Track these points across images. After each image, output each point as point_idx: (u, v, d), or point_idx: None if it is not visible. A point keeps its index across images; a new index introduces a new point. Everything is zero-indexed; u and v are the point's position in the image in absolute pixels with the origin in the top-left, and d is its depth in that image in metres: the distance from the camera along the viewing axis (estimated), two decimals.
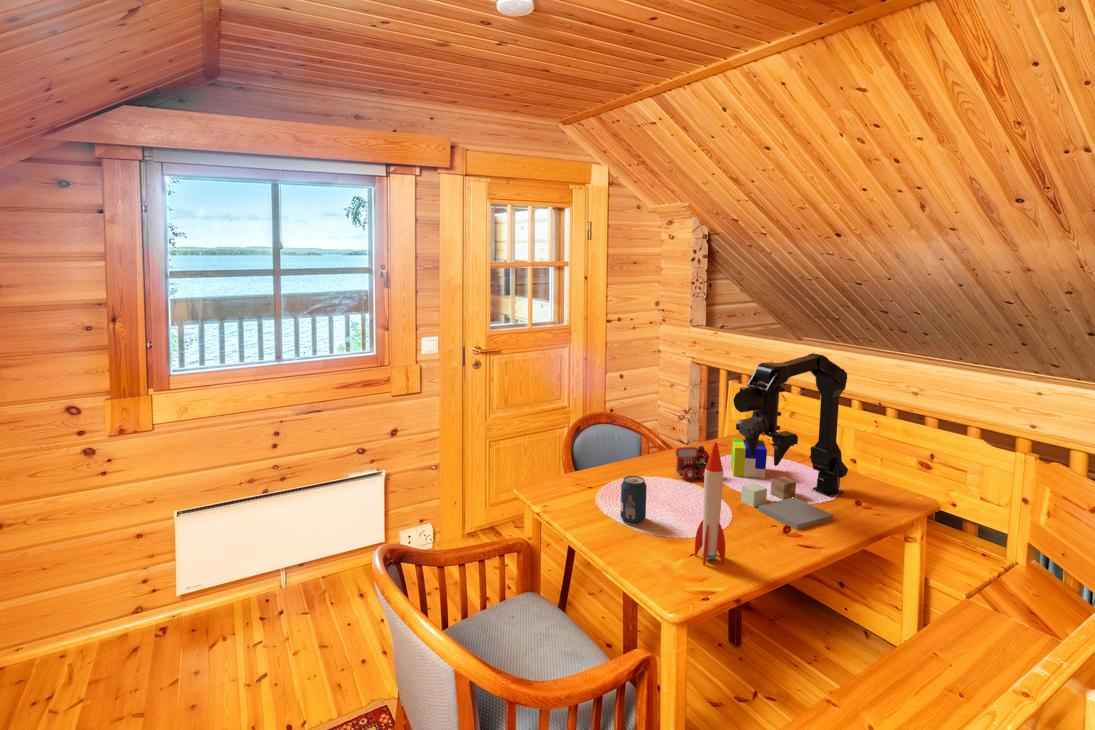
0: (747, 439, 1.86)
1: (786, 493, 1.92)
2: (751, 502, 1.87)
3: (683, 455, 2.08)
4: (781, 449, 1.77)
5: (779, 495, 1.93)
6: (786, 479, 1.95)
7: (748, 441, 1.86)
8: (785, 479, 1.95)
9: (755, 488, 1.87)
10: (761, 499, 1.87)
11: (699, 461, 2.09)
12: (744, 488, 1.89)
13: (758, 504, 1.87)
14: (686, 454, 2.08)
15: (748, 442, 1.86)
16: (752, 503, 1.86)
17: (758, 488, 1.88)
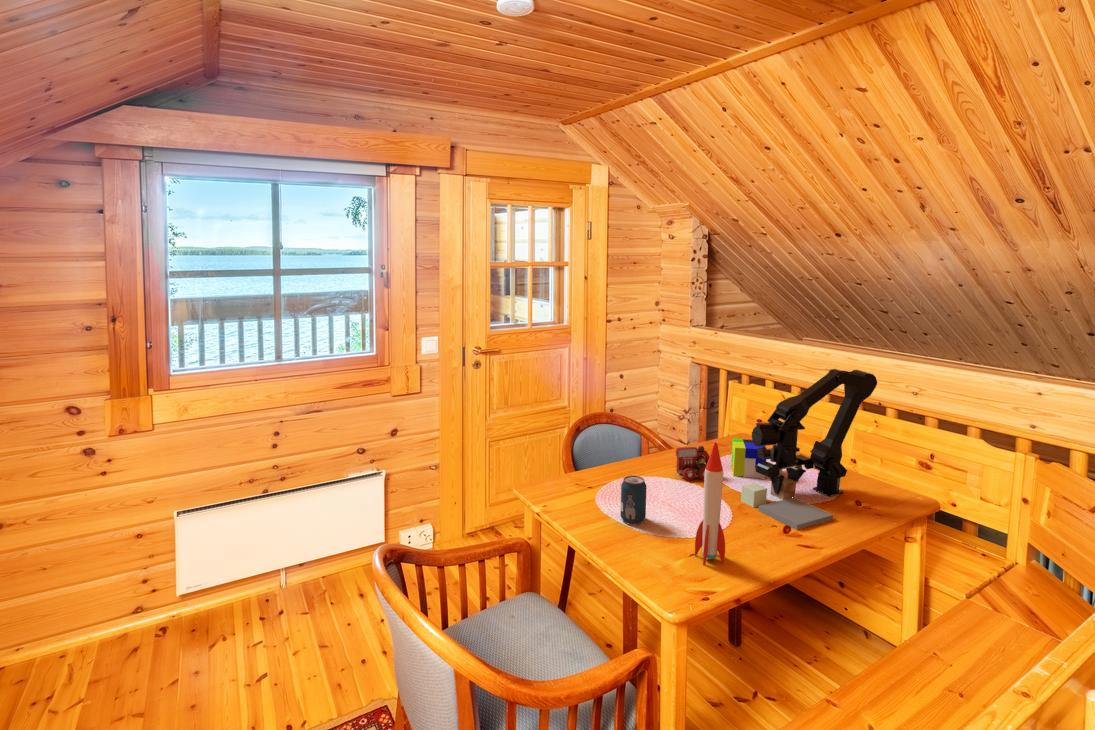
0: None
1: (787, 492, 1.92)
2: (751, 502, 1.87)
3: (683, 455, 2.08)
4: (776, 479, 1.92)
5: (779, 495, 1.93)
6: (786, 479, 1.95)
7: None
8: (785, 478, 1.95)
9: (755, 488, 1.87)
10: (761, 499, 1.87)
11: (699, 461, 2.09)
12: (744, 488, 1.89)
13: (758, 504, 1.87)
14: (686, 454, 2.08)
15: None
16: (752, 503, 1.86)
17: (758, 488, 1.88)
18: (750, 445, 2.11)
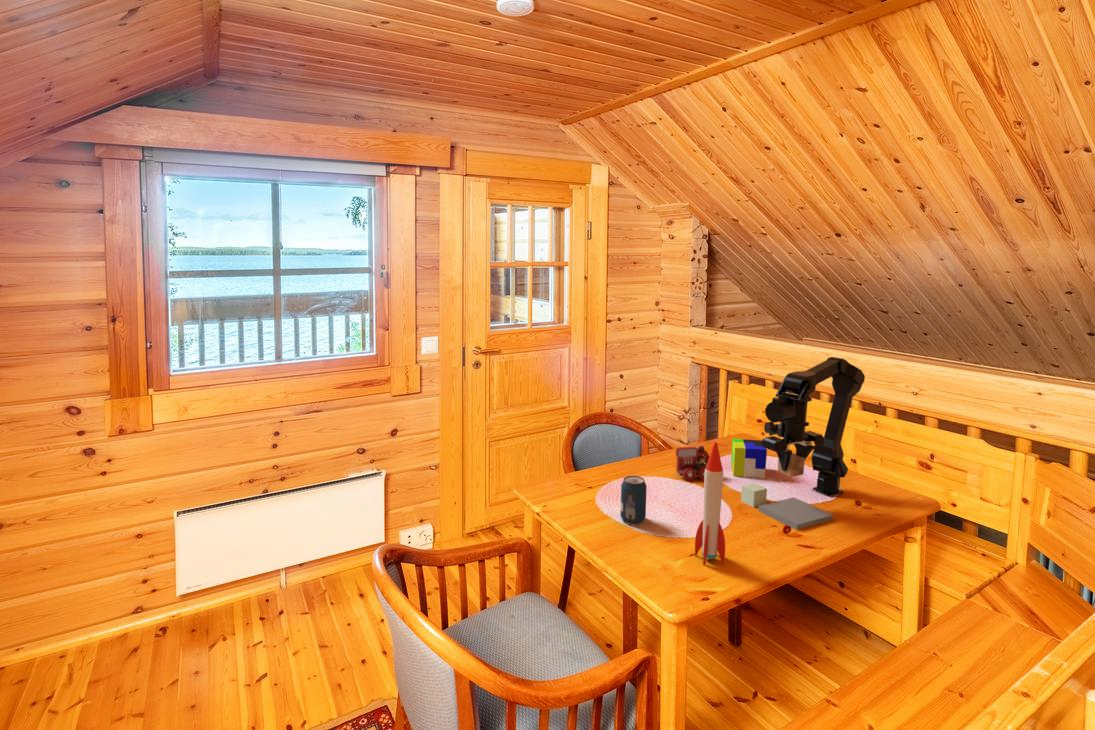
0: None
1: (794, 469, 1.82)
2: (751, 502, 1.87)
3: (683, 455, 2.08)
4: (783, 455, 1.82)
5: (786, 472, 1.83)
6: (794, 455, 1.85)
7: None
8: (793, 455, 1.85)
9: (755, 488, 1.88)
10: (761, 499, 1.87)
11: (699, 461, 2.09)
12: (744, 488, 1.89)
13: (758, 504, 1.87)
14: (686, 454, 2.08)
15: None
16: (752, 503, 1.86)
17: (758, 488, 1.88)
18: (750, 445, 2.11)
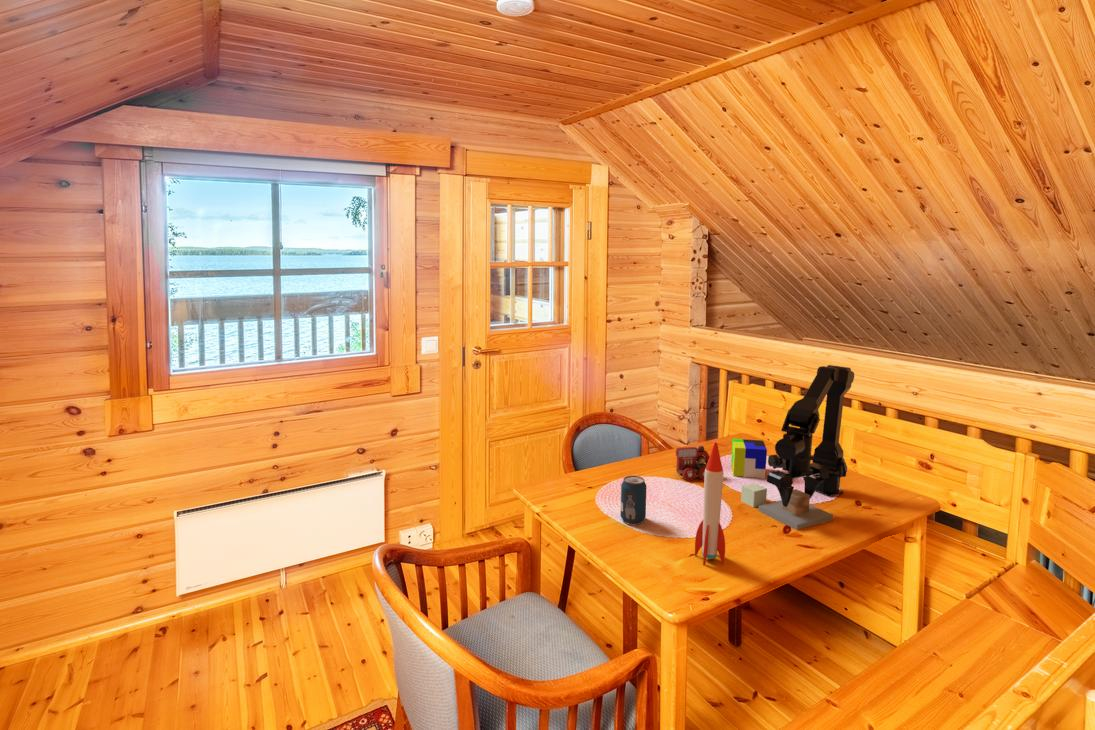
0: None
1: (800, 507, 1.78)
2: (751, 502, 1.87)
3: (683, 455, 2.08)
4: (784, 490, 1.77)
5: (791, 510, 1.79)
6: (799, 492, 1.81)
7: None
8: (798, 492, 1.81)
9: (755, 488, 1.87)
10: (761, 499, 1.87)
11: (699, 461, 2.09)
12: (744, 488, 1.89)
13: (758, 504, 1.87)
14: (686, 454, 2.08)
15: None
16: (752, 503, 1.86)
17: (758, 488, 1.88)
18: (750, 446, 2.11)
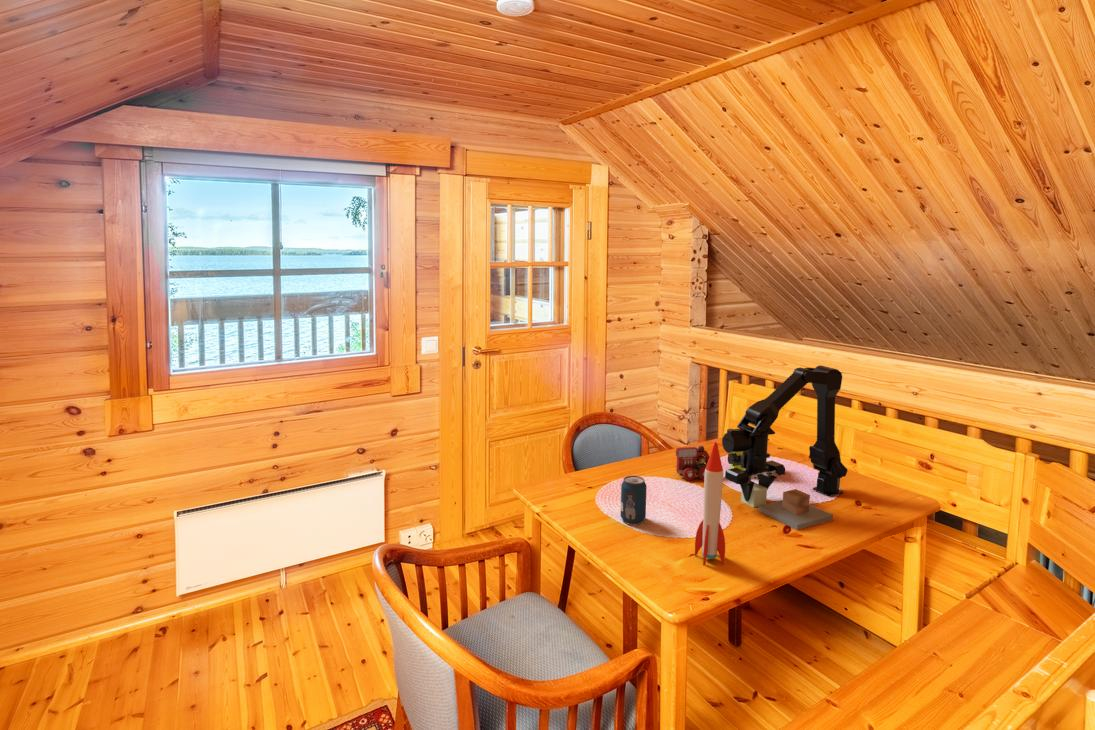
0: None
1: (800, 507, 1.78)
2: (751, 502, 1.87)
3: (683, 455, 2.08)
4: (746, 486, 1.86)
5: (791, 510, 1.79)
6: (799, 492, 1.81)
7: None
8: (798, 492, 1.81)
9: (755, 488, 1.87)
10: (761, 499, 1.87)
11: (699, 461, 2.09)
12: None
13: (758, 504, 1.87)
14: (686, 454, 2.08)
15: None
16: (752, 502, 1.86)
17: (758, 488, 1.88)
18: None
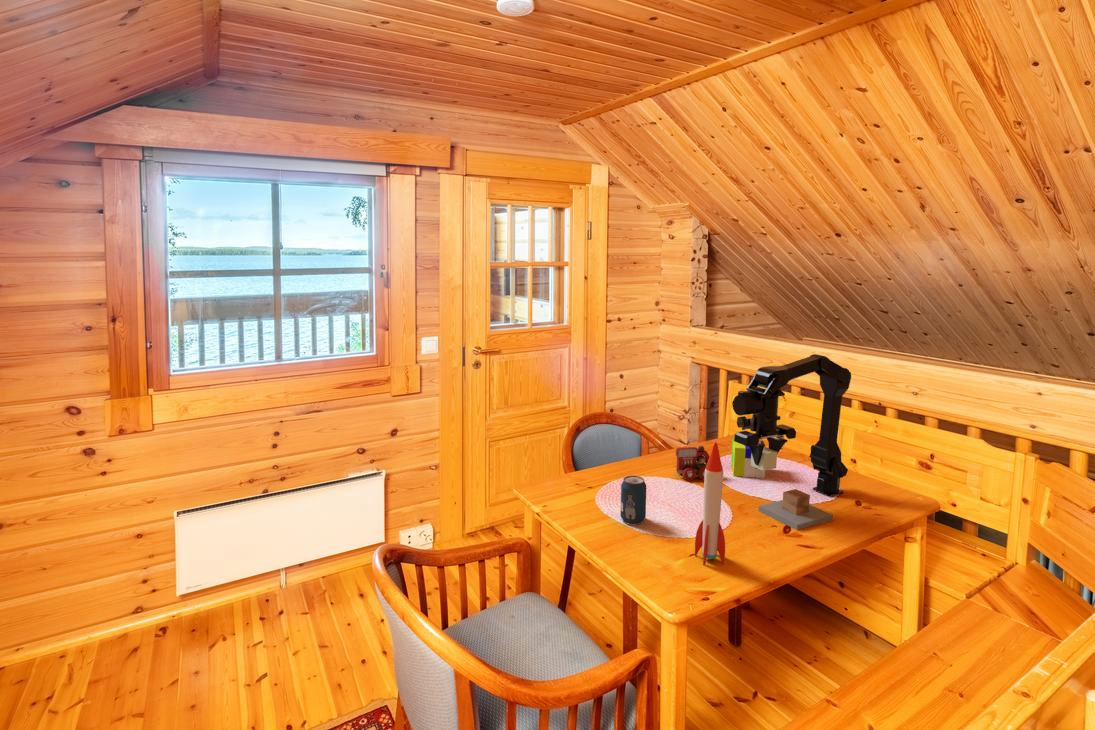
0: None
1: (800, 507, 1.78)
2: (761, 466, 1.83)
3: (683, 455, 2.08)
4: (755, 449, 1.83)
5: (791, 510, 1.79)
6: (799, 492, 1.81)
7: None
8: (798, 492, 1.81)
9: (765, 451, 1.84)
10: (771, 462, 1.83)
11: (699, 461, 2.09)
12: None
13: (768, 467, 1.83)
14: (686, 454, 2.08)
15: None
16: (762, 466, 1.83)
17: (768, 451, 1.84)
18: None
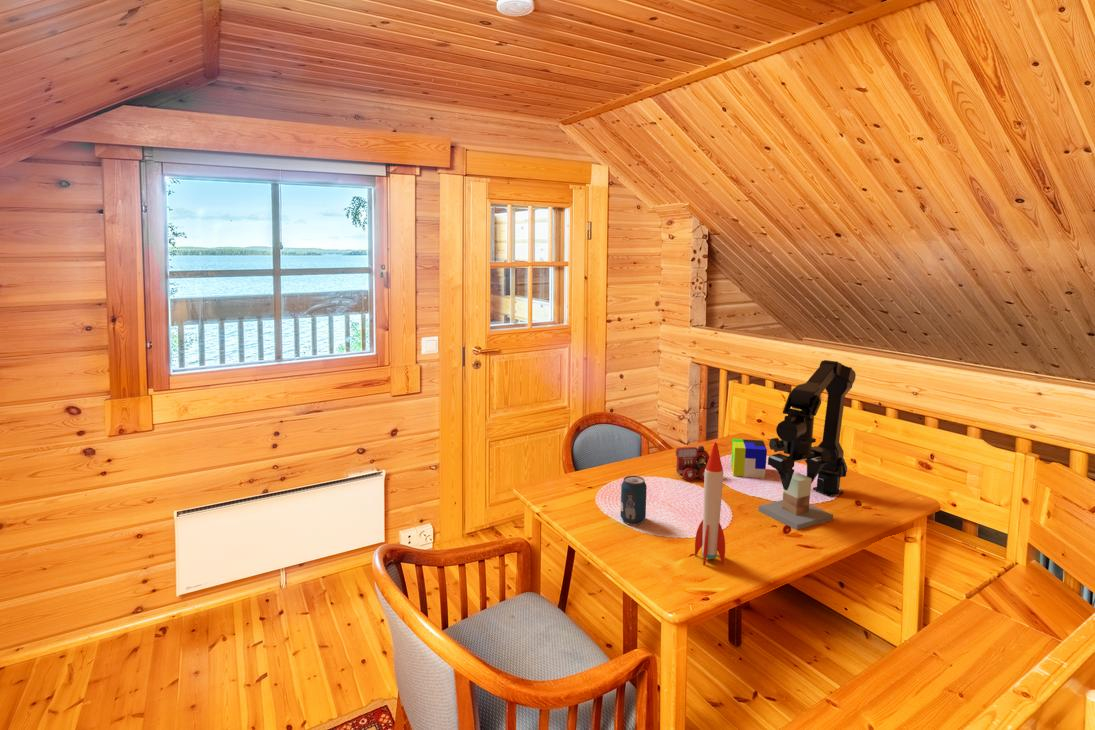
0: None
1: (800, 507, 1.78)
2: (795, 493, 1.77)
3: (683, 455, 2.08)
4: (784, 473, 1.75)
5: (791, 510, 1.79)
6: None
7: None
8: None
9: (799, 478, 1.78)
10: (805, 489, 1.77)
11: (699, 461, 2.09)
12: None
13: (802, 495, 1.77)
14: (686, 454, 2.08)
15: None
16: (796, 493, 1.76)
17: (803, 478, 1.78)
18: (750, 445, 2.11)
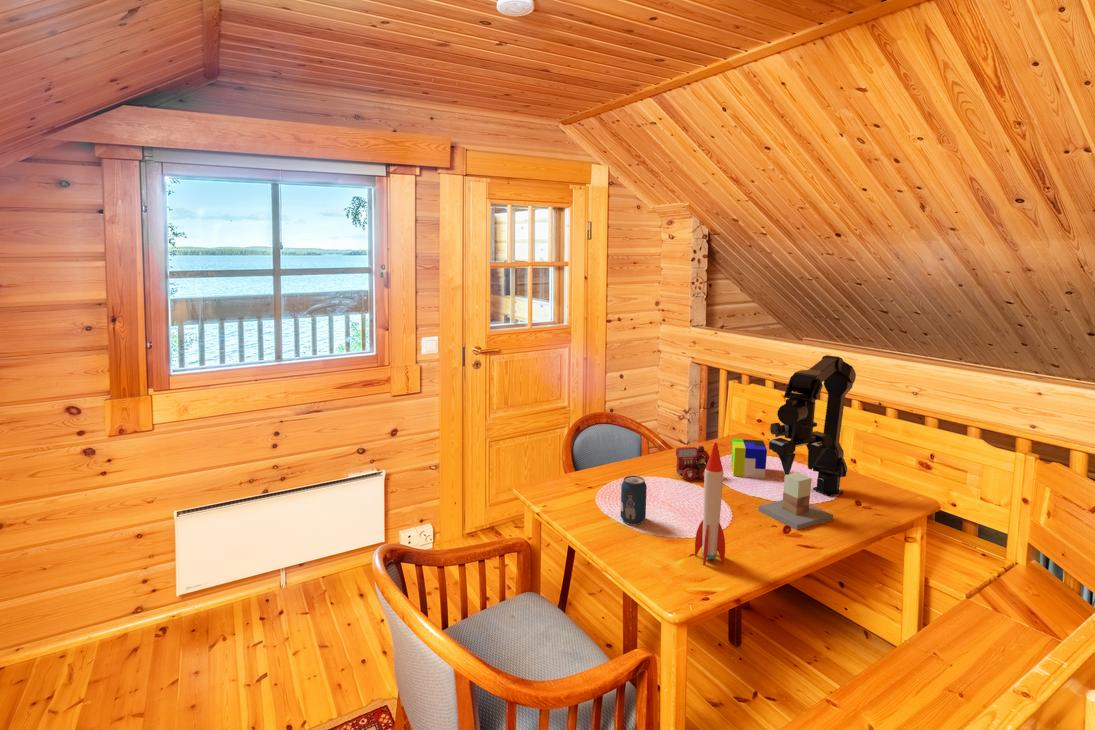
0: None
1: (800, 507, 1.78)
2: (795, 493, 1.77)
3: (683, 455, 2.08)
4: (786, 458, 1.75)
5: (791, 510, 1.79)
6: None
7: None
8: None
9: (799, 478, 1.78)
10: (805, 489, 1.77)
11: (699, 461, 2.09)
12: (787, 477, 1.79)
13: (802, 495, 1.77)
14: (686, 454, 2.08)
15: None
16: (796, 493, 1.76)
17: (803, 478, 1.78)
18: (750, 445, 2.11)
